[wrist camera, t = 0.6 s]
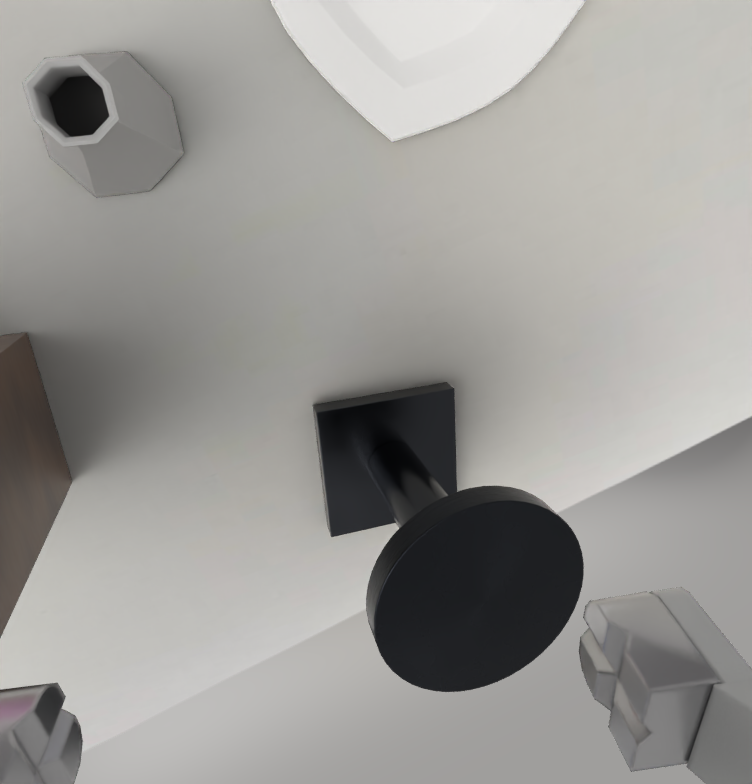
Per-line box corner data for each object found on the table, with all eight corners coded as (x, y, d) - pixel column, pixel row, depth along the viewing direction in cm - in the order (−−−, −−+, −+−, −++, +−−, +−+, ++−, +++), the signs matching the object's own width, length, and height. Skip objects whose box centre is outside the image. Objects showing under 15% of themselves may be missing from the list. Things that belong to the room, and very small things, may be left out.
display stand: (455, 503, 45) (578, 658, 30) (321, 533, 43) (382, 718, 28) (452, 374, 41) (590, 479, 26) (304, 399, 39) (364, 530, 24)
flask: (92, 220, 32) (46, 232, 23) (4, 87, 29) (-89, 41, 20) (207, 162, 32) (206, 152, 23) (132, 26, 29) (99, -46, 20)
